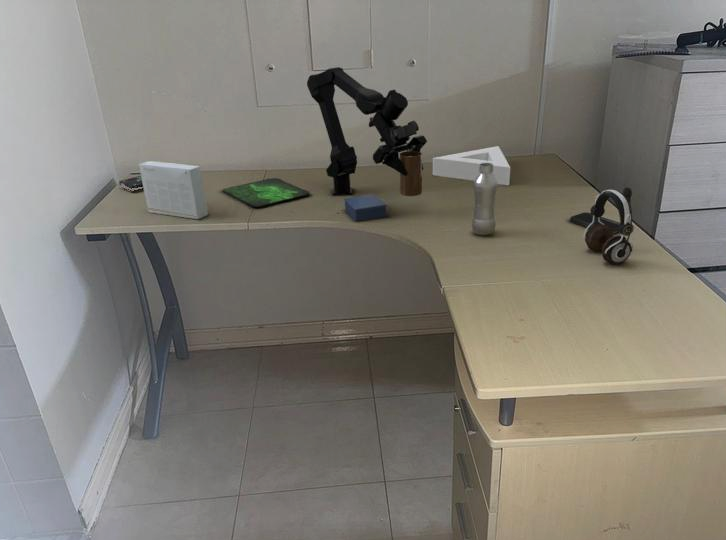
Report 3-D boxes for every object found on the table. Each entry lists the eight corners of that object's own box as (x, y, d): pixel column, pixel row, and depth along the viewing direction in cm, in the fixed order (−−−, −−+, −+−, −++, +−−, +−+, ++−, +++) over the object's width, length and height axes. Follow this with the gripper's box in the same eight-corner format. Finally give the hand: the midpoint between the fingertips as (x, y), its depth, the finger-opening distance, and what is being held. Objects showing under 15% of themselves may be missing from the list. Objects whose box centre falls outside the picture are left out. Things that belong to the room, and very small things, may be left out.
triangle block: (509, 185, 224) (510, 167, 220) (434, 187, 224) (434, 169, 221) (497, 162, 250) (498, 145, 246) (430, 164, 250) (430, 147, 247)
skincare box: (209, 214, 206) (201, 165, 198) (198, 220, 202) (189, 170, 194) (159, 207, 214) (148, 159, 206) (147, 212, 210) (136, 164, 202)
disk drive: (133, 194, 228) (170, 184, 237) (131, 186, 227) (169, 176, 236) (120, 188, 235) (157, 178, 244) (118, 180, 233) (155, 171, 242)
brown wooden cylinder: (400, 189, 201) (399, 151, 195) (421, 189, 201) (421, 150, 195) (400, 196, 195) (400, 157, 189) (422, 195, 195) (422, 156, 189)
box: (344, 210, 206) (343, 198, 204) (374, 206, 209) (374, 194, 207) (355, 221, 197) (355, 209, 195) (387, 216, 200) (386, 204, 198)
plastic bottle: (494, 238, 182) (498, 168, 172) (470, 237, 183) (473, 167, 173) (495, 230, 187) (499, 161, 177) (472, 229, 188) (475, 161, 178)
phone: (586, 211, 195) (627, 225, 184) (585, 215, 195) (626, 228, 185) (568, 217, 191) (609, 231, 180) (567, 221, 192) (609, 235, 181)
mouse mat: (220, 190, 228) (219, 187, 227) (274, 178, 239) (274, 175, 239) (255, 209, 209) (254, 206, 208) (312, 195, 220) (312, 192, 219)
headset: (637, 268, 161) (652, 191, 151) (609, 272, 160) (622, 194, 150) (603, 244, 176) (614, 171, 166) (577, 247, 174) (586, 174, 164)
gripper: (377, 118, 183) (405, 163, 182) (422, 107, 194) (449, 150, 193) (360, 141, 192) (387, 185, 191) (404, 130, 203) (429, 171, 202)
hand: (414, 172), depth 194 cm, fingers closed on brown wooden cylinder, 6 cm apart
